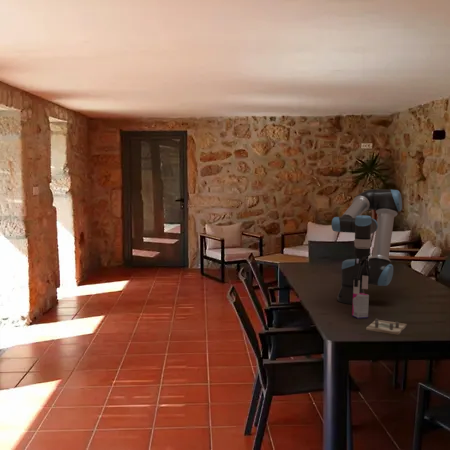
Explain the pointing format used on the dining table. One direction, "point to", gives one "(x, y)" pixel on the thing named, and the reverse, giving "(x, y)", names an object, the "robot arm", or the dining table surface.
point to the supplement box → (360, 305)
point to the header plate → (386, 327)
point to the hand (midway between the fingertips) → (360, 291)
